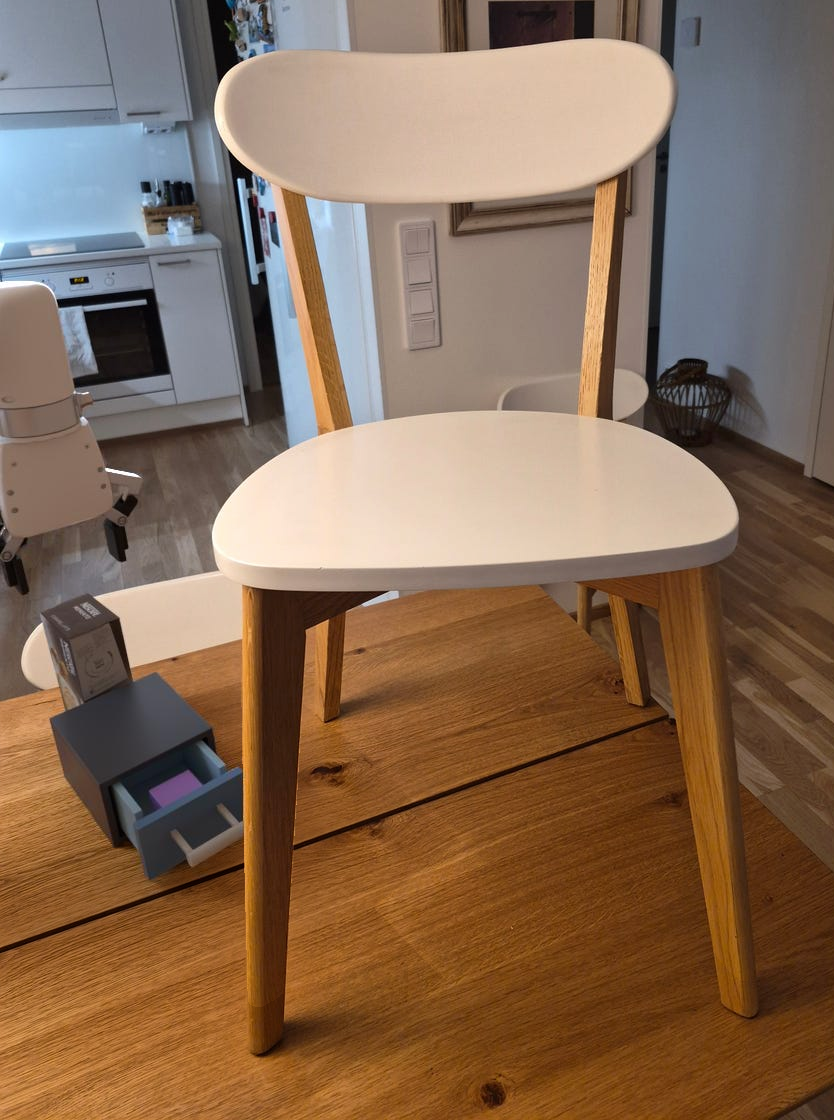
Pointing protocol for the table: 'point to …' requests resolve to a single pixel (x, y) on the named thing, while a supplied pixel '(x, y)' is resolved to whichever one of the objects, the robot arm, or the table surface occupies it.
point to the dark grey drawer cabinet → (123, 741)
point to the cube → (173, 789)
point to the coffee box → (86, 649)
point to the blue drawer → (181, 810)
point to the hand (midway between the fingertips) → (71, 573)
